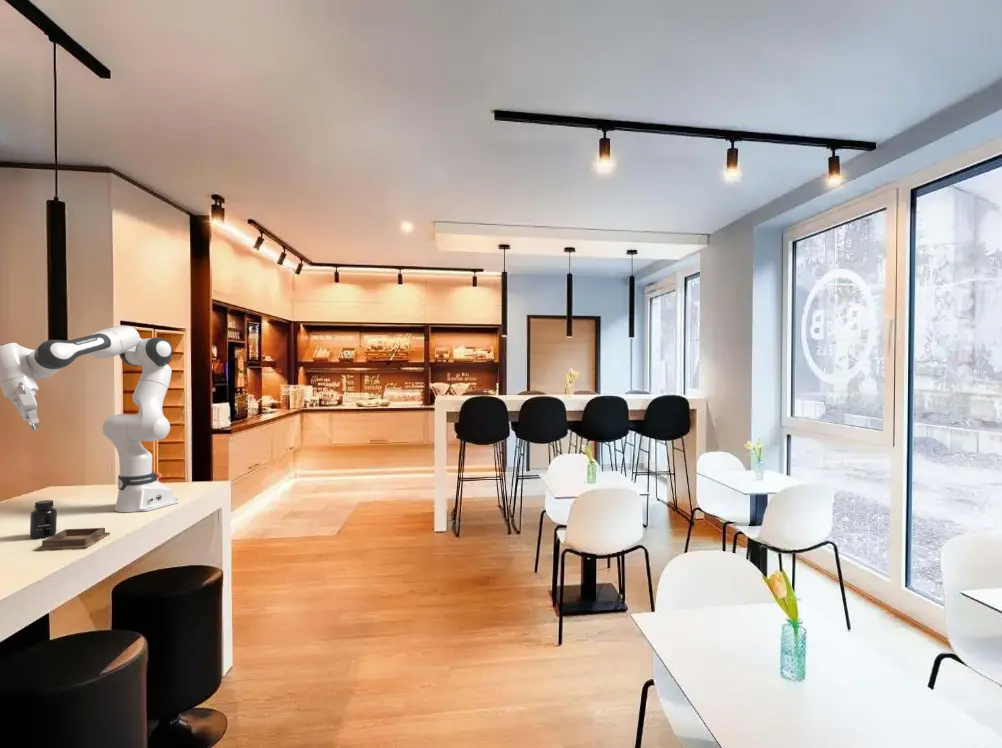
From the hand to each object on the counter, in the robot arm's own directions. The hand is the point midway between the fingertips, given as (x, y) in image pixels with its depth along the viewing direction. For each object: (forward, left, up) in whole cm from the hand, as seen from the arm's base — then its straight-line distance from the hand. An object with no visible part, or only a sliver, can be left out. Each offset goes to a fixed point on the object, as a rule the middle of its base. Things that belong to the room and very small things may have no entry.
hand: (35, 426), depth 172 cm
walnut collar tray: (-6, +15, -38) cm, 42 cm away
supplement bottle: (-3, -1, -39) cm, 39 cm away
